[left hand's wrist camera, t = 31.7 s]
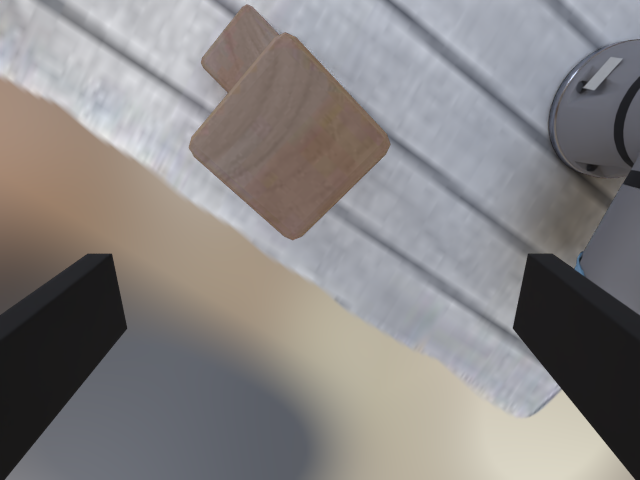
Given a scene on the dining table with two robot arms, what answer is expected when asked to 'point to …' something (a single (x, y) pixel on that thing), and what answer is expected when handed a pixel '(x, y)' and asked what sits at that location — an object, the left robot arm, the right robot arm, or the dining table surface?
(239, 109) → the decorative block
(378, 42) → the dining table surface
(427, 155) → the dining table surface
